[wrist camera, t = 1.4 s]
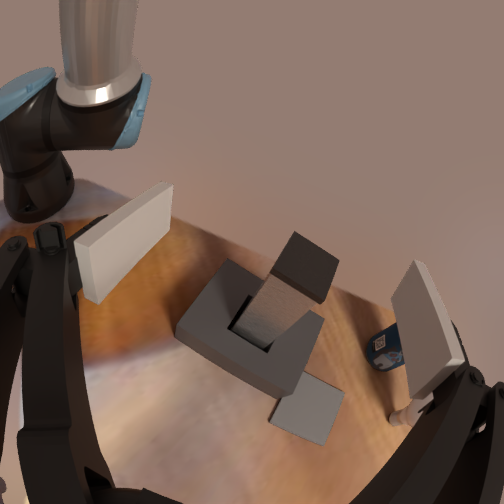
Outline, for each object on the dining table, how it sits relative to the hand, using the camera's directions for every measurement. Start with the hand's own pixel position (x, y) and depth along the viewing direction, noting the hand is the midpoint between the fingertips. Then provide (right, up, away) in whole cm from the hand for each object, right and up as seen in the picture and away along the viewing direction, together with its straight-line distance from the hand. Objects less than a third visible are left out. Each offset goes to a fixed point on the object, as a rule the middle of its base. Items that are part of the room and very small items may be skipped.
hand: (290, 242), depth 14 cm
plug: (-3, -12, +24) cm, 27 cm away
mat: (+6, -22, +20) cm, 31 cm away
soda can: (+20, -18, +29) cm, 39 cm away
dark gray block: (-3, -12, +24) cm, 27 cm away
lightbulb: (+21, -28, +22) cm, 42 cm away
